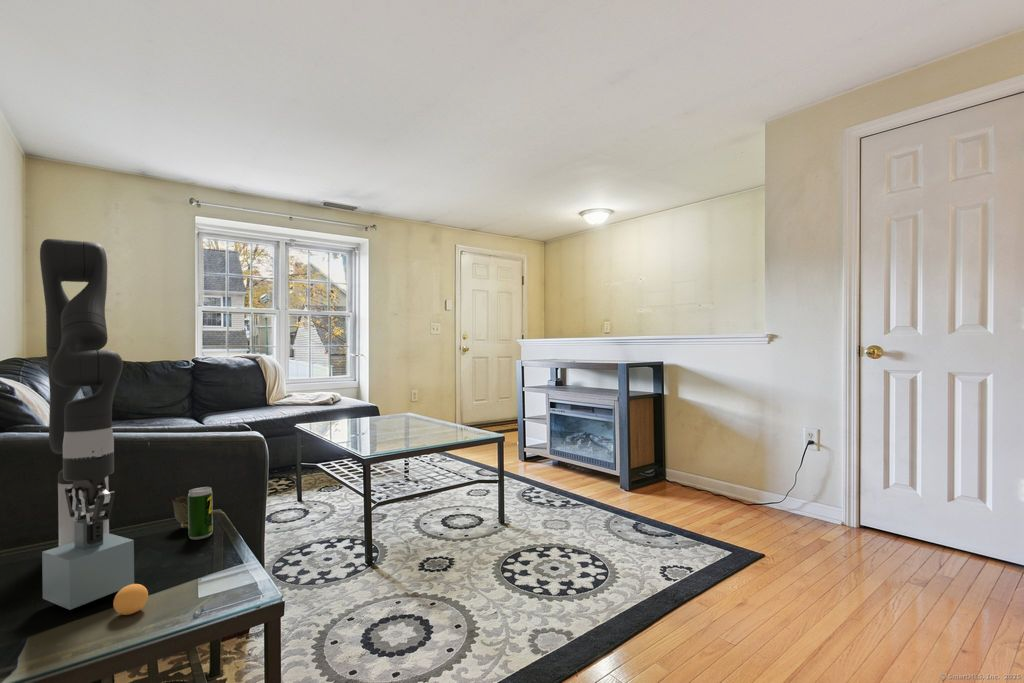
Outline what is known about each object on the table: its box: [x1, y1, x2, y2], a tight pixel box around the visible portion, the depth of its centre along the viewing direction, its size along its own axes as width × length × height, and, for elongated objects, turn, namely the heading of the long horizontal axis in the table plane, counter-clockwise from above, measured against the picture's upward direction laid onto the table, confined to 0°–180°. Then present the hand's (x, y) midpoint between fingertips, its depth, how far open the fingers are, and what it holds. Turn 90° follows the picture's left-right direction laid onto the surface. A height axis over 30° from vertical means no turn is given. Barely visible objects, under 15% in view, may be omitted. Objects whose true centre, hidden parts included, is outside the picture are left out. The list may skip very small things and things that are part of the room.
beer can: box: [187, 486, 214, 540], centre depth 126 cm, size 5×5×12 cm
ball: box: [112, 583, 149, 616], centre depth 88 cm, size 5×5×5 cm
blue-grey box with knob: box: [41, 518, 135, 611], centre depth 94 cm, size 10×10×14 cm
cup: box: [171, 495, 188, 529], centre depth 133 cm, size 8×7×8 cm
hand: (89, 540), depth 94 cm, fingers closed on blue-grey box with knob, 3 cm apart
